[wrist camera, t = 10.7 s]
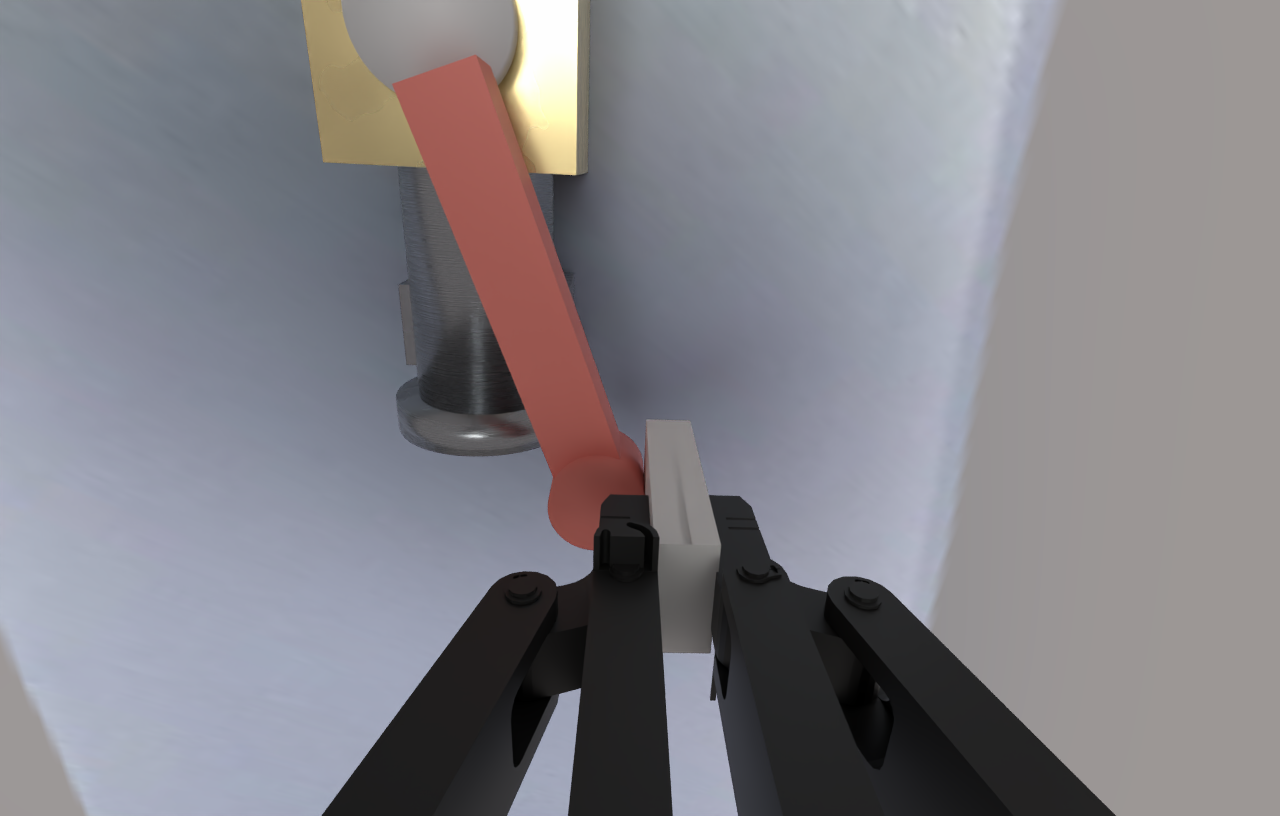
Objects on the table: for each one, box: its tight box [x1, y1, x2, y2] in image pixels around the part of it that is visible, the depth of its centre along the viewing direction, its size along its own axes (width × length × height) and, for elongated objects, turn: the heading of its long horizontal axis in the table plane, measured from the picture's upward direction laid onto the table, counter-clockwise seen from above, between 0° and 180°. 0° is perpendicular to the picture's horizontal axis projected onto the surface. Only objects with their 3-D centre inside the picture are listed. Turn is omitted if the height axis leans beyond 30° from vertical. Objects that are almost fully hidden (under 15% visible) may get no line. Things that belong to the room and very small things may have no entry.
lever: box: [341, 0, 645, 550], centre depth 16 cm, size 16×4×3 cm, turn 17°
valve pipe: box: [301, 0, 590, 456], centre depth 19 cm, size 25×7×8 cm, turn 177°
